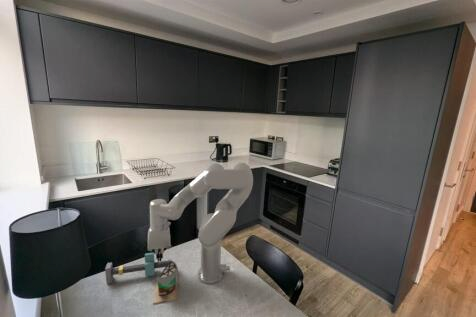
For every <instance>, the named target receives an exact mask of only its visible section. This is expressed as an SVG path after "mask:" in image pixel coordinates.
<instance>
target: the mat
mask: <svg viewBox="0 0 476 317" xmlns="http://www.w3.org/2000/svg"><path fill="white" fill-rule="evenodd" d="M178 290H179V288H178V276H176V286H175V289H174V291H173V292H172V293H170V294H168V295H165V296H159V290H158V283H157V279H156V280H154V288H153V304H152V305H157V304H161V303H167V302H172V301H178V300H179V291H178Z"/></svg>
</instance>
